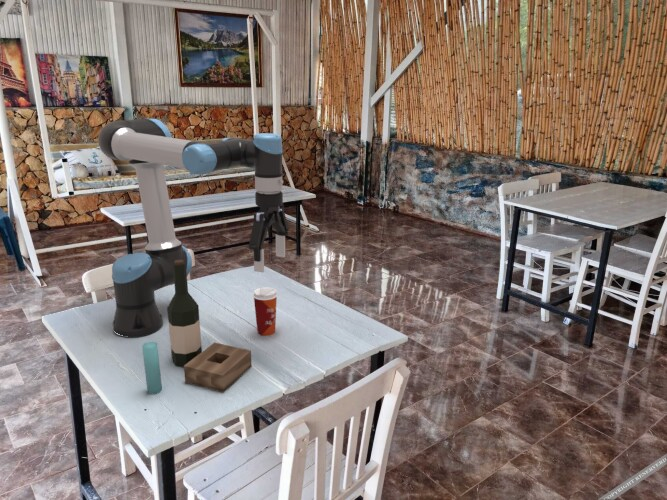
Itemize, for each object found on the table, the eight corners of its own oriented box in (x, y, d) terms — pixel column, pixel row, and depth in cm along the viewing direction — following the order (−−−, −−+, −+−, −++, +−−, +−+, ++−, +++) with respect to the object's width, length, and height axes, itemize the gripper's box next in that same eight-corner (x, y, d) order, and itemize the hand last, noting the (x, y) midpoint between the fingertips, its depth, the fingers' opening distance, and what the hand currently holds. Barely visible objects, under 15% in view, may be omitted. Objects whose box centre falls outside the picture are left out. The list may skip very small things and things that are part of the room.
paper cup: (274, 338, 163) (273, 297, 159) (250, 336, 165) (249, 294, 160) (281, 327, 170) (280, 287, 166) (259, 325, 172) (257, 285, 168)
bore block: (185, 382, 139) (183, 365, 138) (215, 357, 152) (214, 342, 150) (223, 392, 135) (222, 375, 133) (251, 366, 147) (251, 350, 146)
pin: (144, 392, 135) (139, 347, 131) (153, 385, 138) (148, 340, 134) (155, 395, 133) (150, 349, 129) (164, 388, 137) (160, 343, 133)
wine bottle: (186, 370, 145) (177, 268, 136) (165, 362, 149) (156, 262, 140) (208, 357, 152) (201, 259, 142) (188, 350, 156) (180, 254, 146)
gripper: (259, 201, 132) (261, 280, 139) (299, 184, 154) (299, 252, 161) (233, 199, 135) (236, 276, 141) (276, 182, 157) (277, 249, 164)
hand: (270, 263), depth 151 cm, fingers open, 13 cm apart
